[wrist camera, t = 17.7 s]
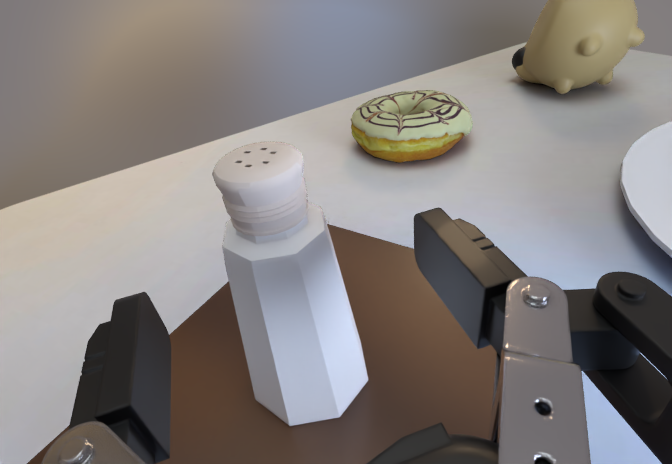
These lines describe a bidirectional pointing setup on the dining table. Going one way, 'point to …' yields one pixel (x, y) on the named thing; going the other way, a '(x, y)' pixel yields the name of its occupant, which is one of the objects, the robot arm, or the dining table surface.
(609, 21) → the toy pig
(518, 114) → the dining table surface
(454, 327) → the walnut board
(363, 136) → the decorated donut
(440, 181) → the dining table surface
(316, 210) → the salt shaker
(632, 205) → the plated food
